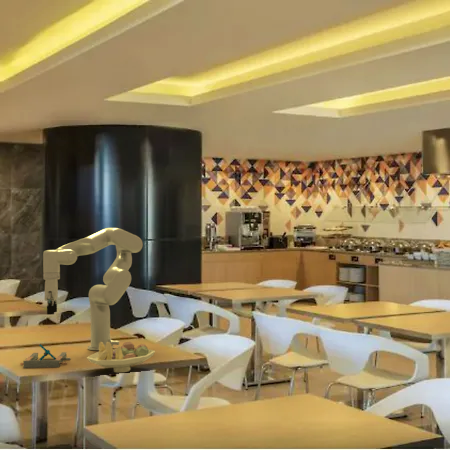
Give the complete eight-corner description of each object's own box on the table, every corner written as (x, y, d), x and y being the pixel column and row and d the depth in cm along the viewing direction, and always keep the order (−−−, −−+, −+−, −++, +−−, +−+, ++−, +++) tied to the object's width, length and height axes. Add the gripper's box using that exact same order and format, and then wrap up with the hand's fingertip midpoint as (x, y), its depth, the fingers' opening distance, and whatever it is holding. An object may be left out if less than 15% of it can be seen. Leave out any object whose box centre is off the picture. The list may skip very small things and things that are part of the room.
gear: (57, 358, 337) (41, 343, 336) (48, 368, 336) (31, 353, 335) (57, 357, 348) (41, 342, 347) (47, 367, 346) (31, 352, 345)
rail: (71, 357, 349) (71, 350, 349) (64, 367, 325) (64, 360, 325) (28, 358, 347) (28, 351, 347) (17, 368, 323) (17, 361, 323)
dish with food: (80, 378, 302) (80, 342, 302) (95, 364, 330) (95, 332, 330) (149, 378, 301) (149, 342, 301) (158, 365, 329) (158, 332, 329)
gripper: (46, 274, 363) (47, 311, 363) (40, 277, 345) (40, 315, 345) (62, 274, 363) (62, 310, 363) (56, 277, 346) (57, 315, 346)
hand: (52, 313), depth 354 cm, fingers open, 8 cm apart
